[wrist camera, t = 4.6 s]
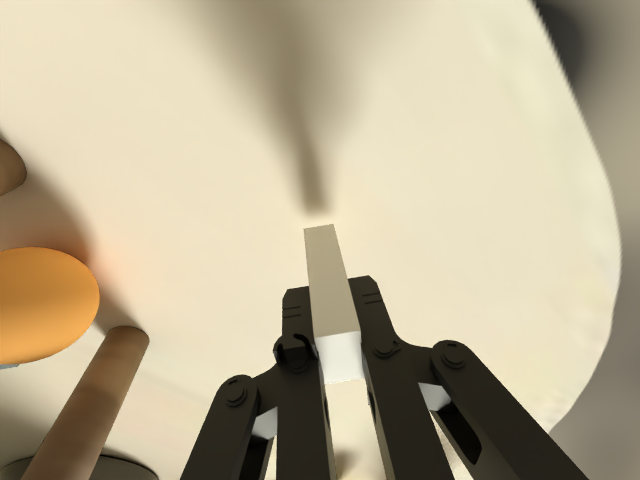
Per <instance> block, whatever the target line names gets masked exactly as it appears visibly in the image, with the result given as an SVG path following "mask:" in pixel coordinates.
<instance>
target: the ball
mask: <svg viewBox="0 0 640 480" xmlns="http://www.w3.org/2000/svg"><path fill="white" fill-rule="evenodd" d="M99 299H100V294H99V288H98V284H97V282H96V279H95V277H94V276H93V274H92V273H91V271H90V270H89V269H88V268H87V267H86V266H85V265H84V264H83V263H82V262H80V261H79V260H77V259H76V258H74V257H72V256H70V255H69V254H66V253H63V252H61V251H57V250H54V249H48V248H41V247H22V248H14V249H7V250H4V251H0V364H22V363H28V362H33V361H36V360H40V359H44V358H46V357H49V356H52V355H54V354H56V353H58V352H60V351H62V350H63V349H65V348H67V347H68V346H70V345H71V344H72V343H74V342H75V341H76V340H78V339H79V338H80V337H81V336H82V335H83V334H84V333H85V331H86V330H87V329H88V328H89V327H90V325H91V323H92V322H93V320H94V318H95V316H96V313H97V310H98V307H99Z"/></svg>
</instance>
